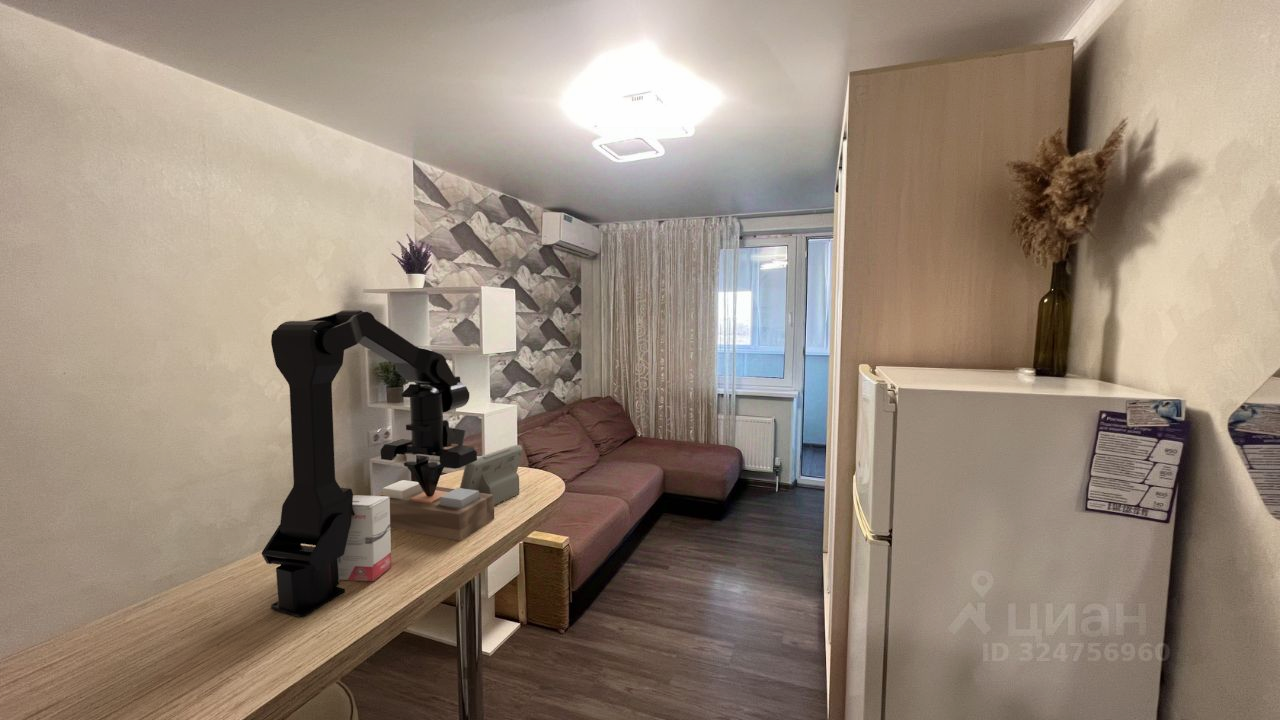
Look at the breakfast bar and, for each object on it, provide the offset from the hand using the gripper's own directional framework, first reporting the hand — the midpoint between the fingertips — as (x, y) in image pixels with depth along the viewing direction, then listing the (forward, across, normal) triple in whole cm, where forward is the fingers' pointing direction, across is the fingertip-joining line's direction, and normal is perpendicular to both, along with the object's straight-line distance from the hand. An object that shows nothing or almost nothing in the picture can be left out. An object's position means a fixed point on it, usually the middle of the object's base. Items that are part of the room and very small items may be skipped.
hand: (430, 495), depth 94 cm
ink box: (+6, -3, +19) cm, 20 cm away
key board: (+5, 0, 0) cm, 5 cm away
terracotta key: (+3, 0, 0) cm, 3 cm away
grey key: (+2, -7, 0) cm, 7 cm away
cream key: (+2, +7, 0) cm, 7 cm away
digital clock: (+6, -3, -15) cm, 16 cm away
